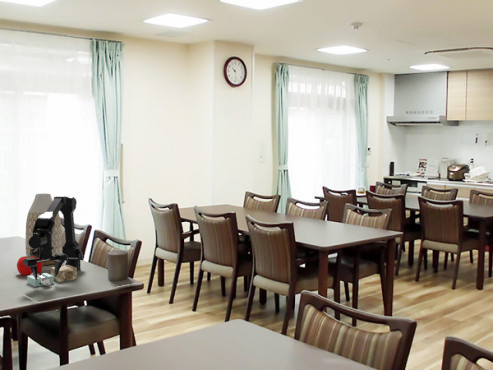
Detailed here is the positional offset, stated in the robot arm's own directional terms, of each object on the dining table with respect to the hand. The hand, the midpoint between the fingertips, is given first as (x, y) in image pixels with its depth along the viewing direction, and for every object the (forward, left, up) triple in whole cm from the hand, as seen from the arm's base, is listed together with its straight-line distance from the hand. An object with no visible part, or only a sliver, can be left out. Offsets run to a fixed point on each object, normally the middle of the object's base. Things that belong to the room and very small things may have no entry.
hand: (46, 278), depth 250 cm
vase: (-20, -48, -5) cm, 52 cm away
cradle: (0, -6, -4) cm, 7 cm away
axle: (0, -6, -3) cm, 7 cm away
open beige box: (-12, -7, -4) cm, 15 cm away
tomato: (-3, -26, -5) cm, 27 cm away
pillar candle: (-31, +10, -5) cm, 33 cm away
